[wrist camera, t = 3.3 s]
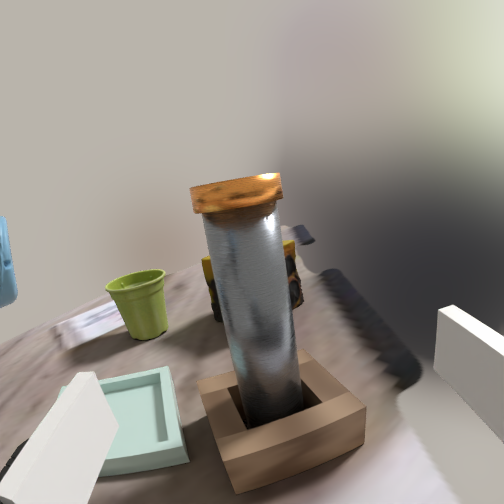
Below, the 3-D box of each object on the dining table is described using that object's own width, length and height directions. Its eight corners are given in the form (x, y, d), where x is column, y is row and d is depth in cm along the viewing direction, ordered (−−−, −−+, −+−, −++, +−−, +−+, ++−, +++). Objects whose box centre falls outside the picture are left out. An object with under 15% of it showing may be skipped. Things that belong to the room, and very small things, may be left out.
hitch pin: (257, 464, 20) (196, 186, 16) (237, 422, 25) (185, 189, 21) (323, 439, 21) (294, 170, 17) (295, 403, 26) (261, 175, 22)
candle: (305, 302, 49) (297, 239, 47) (269, 332, 42) (257, 259, 39) (252, 297, 55) (242, 240, 53) (213, 321, 48) (199, 258, 46)
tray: (48, 479, 17) (36, 464, 17) (68, 400, 29) (61, 386, 29) (189, 461, 21) (182, 445, 20) (172, 380, 33) (167, 365, 32)
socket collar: (235, 494, 17) (222, 461, 16) (206, 414, 27) (196, 381, 26) (364, 443, 20) (366, 406, 19) (307, 382, 29) (303, 348, 28)
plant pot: (120, 352, 41) (101, 294, 39) (121, 327, 50) (107, 278, 48) (182, 336, 44) (168, 278, 42) (174, 314, 53) (162, 265, 51)
